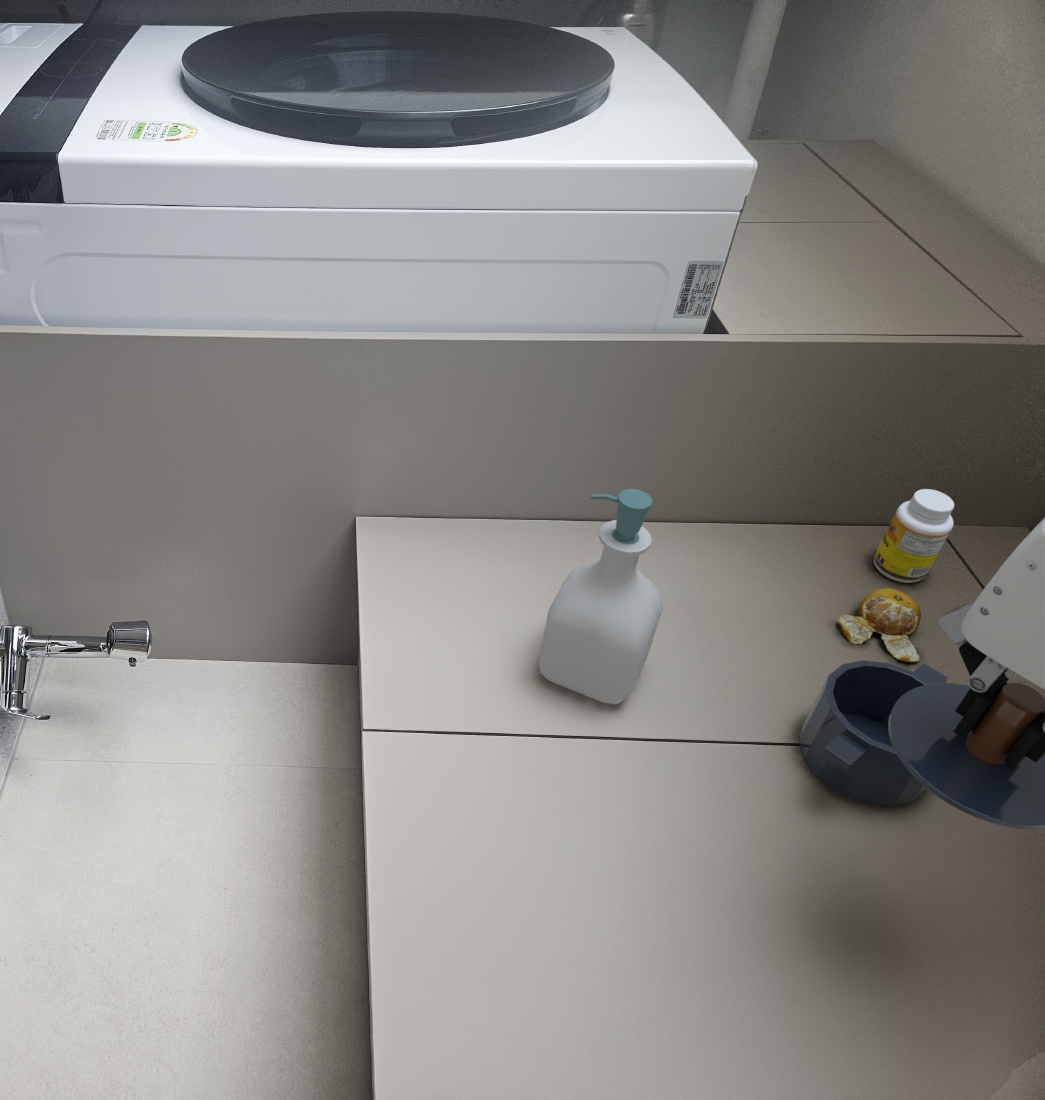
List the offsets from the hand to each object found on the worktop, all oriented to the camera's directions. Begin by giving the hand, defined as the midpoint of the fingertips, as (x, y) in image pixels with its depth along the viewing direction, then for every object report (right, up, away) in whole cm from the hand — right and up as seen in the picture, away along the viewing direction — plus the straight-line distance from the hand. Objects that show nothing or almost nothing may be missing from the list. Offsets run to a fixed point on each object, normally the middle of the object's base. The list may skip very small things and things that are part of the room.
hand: (993, 739), depth 65 cm
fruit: (+14, +4, +38) cm, 41 cm away
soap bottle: (-18, 0, +34) cm, 39 cm away
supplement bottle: (+21, +11, +45) cm, 51 cm away
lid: (0, -1, +1) cm, 2 cm away
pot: (+6, -7, +26) cm, 27 cm away
